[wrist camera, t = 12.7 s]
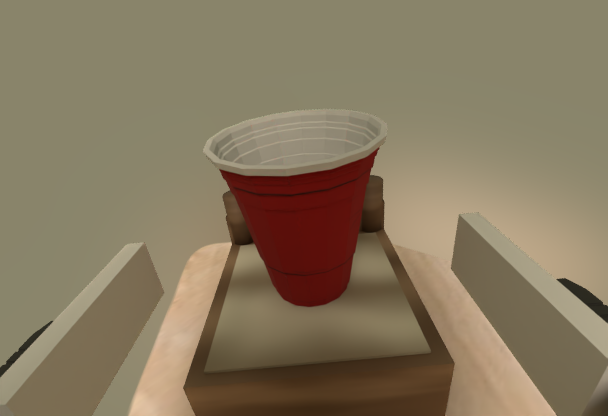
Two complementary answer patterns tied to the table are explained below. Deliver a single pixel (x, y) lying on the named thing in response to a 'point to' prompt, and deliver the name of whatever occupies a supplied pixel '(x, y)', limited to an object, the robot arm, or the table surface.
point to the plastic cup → (301, 193)
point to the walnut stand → (319, 338)
